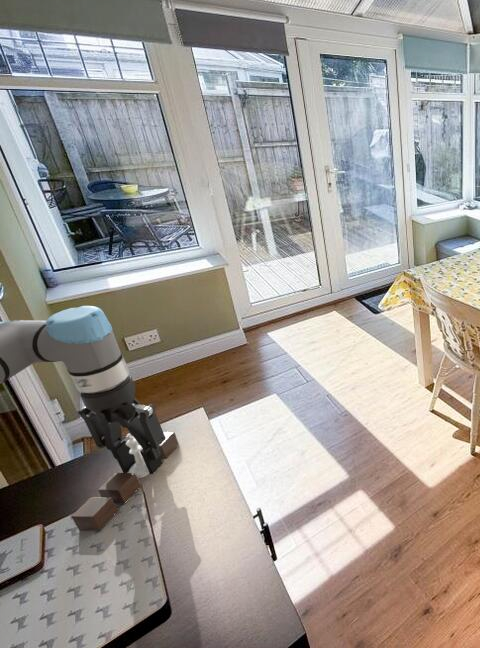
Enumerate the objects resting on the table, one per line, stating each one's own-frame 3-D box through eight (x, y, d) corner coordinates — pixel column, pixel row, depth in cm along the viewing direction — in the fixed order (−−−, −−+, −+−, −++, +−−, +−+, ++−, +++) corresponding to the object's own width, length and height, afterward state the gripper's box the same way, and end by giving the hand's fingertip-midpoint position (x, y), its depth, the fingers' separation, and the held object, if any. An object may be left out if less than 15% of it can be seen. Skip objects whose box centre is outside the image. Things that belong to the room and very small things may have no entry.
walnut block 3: (148, 458, 93) (142, 445, 91) (162, 444, 96) (156, 431, 95) (166, 458, 93) (161, 445, 91) (179, 444, 96) (174, 431, 95)
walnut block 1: (79, 530, 78) (70, 516, 76) (98, 510, 81) (90, 496, 80) (100, 531, 78) (92, 516, 76) (118, 511, 81) (111, 497, 80)
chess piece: (147, 456, 92) (132, 422, 88) (164, 462, 91) (149, 428, 87) (123, 474, 88) (106, 440, 84) (140, 481, 86) (124, 446, 82)
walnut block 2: (105, 503, 83) (97, 489, 81) (122, 485, 86) (115, 472, 85) (125, 504, 83) (118, 490, 81) (141, 486, 86) (135, 472, 85)
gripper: (37, 394, 76) (85, 482, 85) (135, 396, 76) (172, 484, 86) (76, 368, 83) (116, 453, 92) (166, 371, 83) (197, 455, 93)
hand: (143, 468), depth 89 cm, fingers closed on chess piece, 5 cm apart
